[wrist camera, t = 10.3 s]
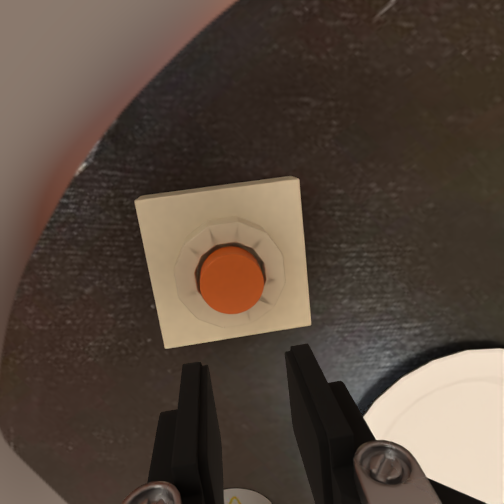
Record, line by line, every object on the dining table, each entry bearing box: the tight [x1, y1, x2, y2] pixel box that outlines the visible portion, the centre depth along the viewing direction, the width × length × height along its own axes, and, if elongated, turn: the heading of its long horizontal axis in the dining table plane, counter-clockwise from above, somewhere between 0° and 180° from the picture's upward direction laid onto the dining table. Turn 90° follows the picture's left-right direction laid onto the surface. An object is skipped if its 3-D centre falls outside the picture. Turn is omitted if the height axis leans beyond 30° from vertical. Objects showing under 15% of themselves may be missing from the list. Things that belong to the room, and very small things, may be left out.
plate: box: [363, 347, 504, 504], centre depth 32 cm, size 21×21×2 cm
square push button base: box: [135, 176, 311, 349], centre depth 24 cm, size 10×10×4 cm
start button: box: [200, 246, 264, 314], centre depth 22 cm, size 4×4×2 cm
